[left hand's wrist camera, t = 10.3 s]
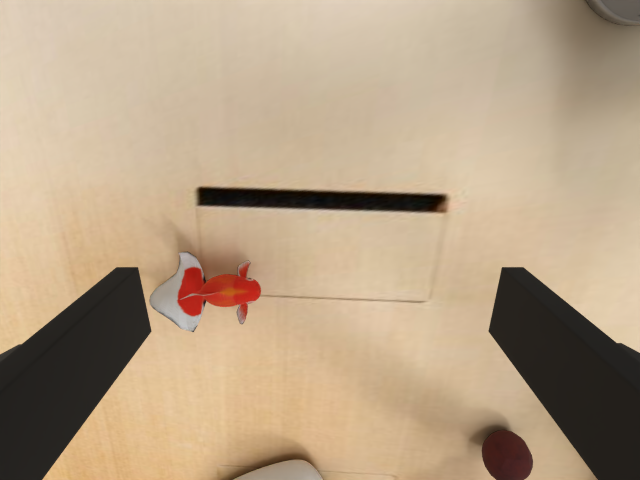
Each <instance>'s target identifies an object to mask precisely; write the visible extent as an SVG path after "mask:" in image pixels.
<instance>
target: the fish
mask: <svg viewBox="0 0 640 480" xmlns="http://www.w3.org/2000/svg"><path fill="white" fill-rule="evenodd" d="M179 255H180V262H179V268H178V271H177V273H176V274H175V275H174V276H172V277H171V278H170V279H168V280H167V281H166V282H164V283H163V284H161V285H160V286H159V287H157V288H156V289H155V290H154V292H153V293H152V294H151V296H150V305H151V306H152V307H153V308H154V309H155V310H156V311H158V312H159V313H161V314H162V315H164V316H166V317H167V318H168V319H170V320H171V321H173V322H174V323H175V324H176V325H177V326H178V327H180V328H181V329H184V330H188V331H192V332H194V330H195V329H196V327H197V325H198V323H199V321H200V318H201V315H202V312H203V309H204V306H205V303H206V301H207V302H209V303H210V304H212V305H215V306H220V307H230V306H235V305H237V304H238V305H239V307H238V310H237V316H238V319H239V322H240V324H243V323H244V321H245V319H246V315H247V311H248V305H247V303H248V304H249V303H252V302H254V301H256V300H257V299H258V298H259V296H260V294H261V288H260V285H259V283H258V282H257V281H256V280H254V279H251V278H246V275H247V271H248V266H249V264H250V261H249V260H248V261H245V262H243V263H242V264H240V265H239V266H238V276H237V275H230V274H223V275H219V276H216V277H213V278H211V279H210V280H208V281H207V282H206V280H205V277H204V273H203V271H202V268H201V266H200V264H199V262H198V260H197V258H196V257H195V256H194V255H192V254H191V253H189V252H182V253H179Z"/></svg>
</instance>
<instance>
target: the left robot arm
mask: <svg viewBox="0 0 640 480" xmlns="http://www.w3.org/2000/svg"><path fill="white" fill-rule="evenodd" d="M586 2H587V3H588V4H589V6H590V7H591V8H592V9H593V10H594V11H595V12H596V13H597V14H598V15H599V16H601V17H602V18H604V19H606V20H608V21H610V22H613V23H616V24H621V25H640V0H586ZM150 333H151V327H150V322H149V318H148V313H147V308H146V303H145V299H144V294H143V289H142V284H141V280H140V275H139V270H138V267H117V268H115V269H114V270H113V271H112V272H110V273H109V274H108V275H107V276H105V277H104V278H103V279H102V280H101V281H99V282H98V283H97V284H96V285H94V286H93V287H92V288H91V289H89V290H88V291H87V292H86V293H85V294H83V295H82V296H81V297H80V298H78V299H77V300H76V301H75V302H73V303H72V304H71V305H70V306H68V307H67V308H66V309H65V310H64V311H62V312H61V313H60V314H59V315H57V316H56V317H55V318H54V319H52V320H51V321H50V322H49V323H48V324H46V325H45V326H44V327H43V328H41V329H40V330H39V331H38V332H36V333H35V334H34V335H33V336H32V337H30V338H29V339H28V340H27V341H25V342H24V343H23V344H19V345H17V346H15V347H13V348H12V349H10V350H8V351H6V352H4V353H2V354H0V480H42V479H43V478H44V476H45V475H46V474H47V472H48V471H49V470H50V468H51V467H52V466H53V464H54V463H55V461H56V460H57V459H58V457H59V456H60V455H61V453H62V452H63V451H64V449H65V448H66V447H67V445H68V444H69V442H70V441H71V440H72V438H73V437H74V436H75V434H76V433H77V432H78V430H79V429H80V428H81V426H82V425H83V423H84V422H85V421H86V419H87V418H88V417H89V415H90V414H91V413H92V411H93V410H94V409H95V407H96V406H97V404H98V403H99V402H100V400H101V399H102V398H103V396H104V395H105V394H106V392H107V391H108V390H109V388H110V387H111V385H112V384H113V383H114V381H115V380H116V379H117V377H118V376H119V375H120V373H121V372H122V371H123V369H124V368H125V366H126V365H127V364H128V362H129V361H130V360H131V358H132V357H133V356H134V354H135V353H136V352H137V350H138V349H139V347H140V346H141V345H142V343H143V342H144V341H145V339H146V338H147V337H148V335H149V334H150ZM489 333H490V334H491V335H492V337H493V338H494V339H495V341H496V342H497V343H498V345H499V346H500V347H501V349H502V350H503V352H504V353H505V354H506V356H507V357H508V358H509V360H510V361H511V362H512V364H513V365H514V366H515V368H516V369H517V371H518V372H519V373H520V375H521V376H522V377H523V379H524V380H525V381H526V383H527V384H528V385H529V387H530V388H531V390H532V391H533V392H534V394H535V395H536V396H537V398H538V399H539V400H540V402H541V403H542V404H543V406H544V407H545V409H546V410H547V411H548V413H549V414H550V415H551V417H552V418H553V419H554V421H555V422H556V423H557V425H558V426H559V428H560V429H561V430H562V432H563V433H564V434H565V436H566V437H567V438H568V440H569V441H570V442H571V444H572V445H573V447H574V448H575V449H576V451H577V452H578V453H579V455H580V456H581V457H582V459H583V460H584V461H585V463H586V464H587V466H588V467H589V468H590V470H591V471H592V472H593V474H594V475H595V476H596V478H597V479H598V480H640V353H639V352H637V351H635V350H633V349H631V348H629V347H627V346H626V345H624V344H622V343H616V342H615V341H613V340H612V339H611V338H610V337H608V336H607V335H606V334H605V333H604V332H602V331H601V330H600V329H599V328H597V327H596V326H595V325H594V324H592V323H591V322H590V321H589V320H588V319H586V318H585V317H584V316H583V315H581V314H580V313H579V312H578V311H576V310H575V309H574V308H573V307H572V306H570V305H569V304H568V303H567V302H565V301H564V300H563V299H562V298H560V297H559V296H558V295H557V294H555V293H554V292H553V291H552V290H551V289H549V288H548V287H547V286H546V285H544V284H543V283H542V282H541V281H539V280H538V279H537V278H536V277H535V276H533V275H532V274H531V273H530V272H528V271H527V270H526V269H525V268H523V267H502V270H501V275H500V280H499V284H498V289H497V294H496V299H495V303H494V308H493V313H492V318H491V322H490V327H489Z"/></svg>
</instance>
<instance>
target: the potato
mask: <svg viewBox="0 0 640 480" xmlns="http://www.w3.org/2000/svg"><path fill="white" fill-rule="evenodd" d="M482 457H483V461H484V464H485V467H486V468H487V470H488V471H489V473H490V474H491V476H493V477H494V478H495V479H496V480H524V479H526V478H527V477H528V476H529V475H530V473H531V470H532V467H533V459H532V455H531V453H530V451H529V449H528V447H527V445H526V443H525V442H524V440H523V439H522V438H521V437H519V436H518V435H516V434H515V433H513V432H511V431H507V430H499V431H496V432H494V433H492V434H491V435H490V436H489V437H488V438H487V439H486V440H485V441H484V443H483V447H482Z"/></svg>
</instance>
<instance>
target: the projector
mask: <svg viewBox="0 0 640 480" xmlns="http://www.w3.org/2000/svg"><path fill="white" fill-rule="evenodd" d="M233 480H323V478H322V477H321V475H320V474H319V472H318V471H317V470H316V469H315V468H314V467H313V466H312V465H311V464H310V463H308V462H307V461H304V460H288V461H283V462H279V463H275V464H272V465H269V466H265V467H262V468H260V469H257V470H254V471H251V472H249V473H246V474H244V475H242V476H239V477H237V478H235V479H233Z"/></svg>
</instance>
